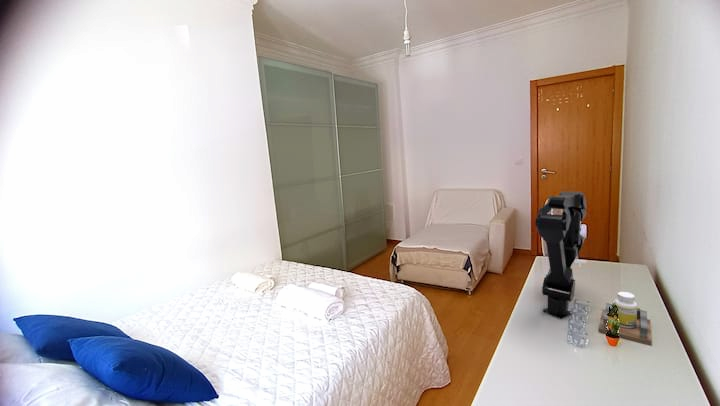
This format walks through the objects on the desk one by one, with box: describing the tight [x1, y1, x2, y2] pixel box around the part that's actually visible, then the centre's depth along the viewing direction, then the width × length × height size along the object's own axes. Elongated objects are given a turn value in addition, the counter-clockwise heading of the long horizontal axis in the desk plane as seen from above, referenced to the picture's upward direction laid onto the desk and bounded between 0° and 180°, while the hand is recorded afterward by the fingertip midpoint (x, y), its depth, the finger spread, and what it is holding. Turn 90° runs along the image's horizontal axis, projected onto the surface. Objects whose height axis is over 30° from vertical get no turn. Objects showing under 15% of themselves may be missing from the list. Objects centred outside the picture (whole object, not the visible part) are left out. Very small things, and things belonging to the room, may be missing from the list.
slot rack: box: [598, 302, 653, 346], centre depth 99 cm, size 14×12×4 cm
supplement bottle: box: [614, 291, 638, 328], centre depth 98 cm, size 5×5×10 cm
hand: (569, 266), depth 119 cm, fingers open, 9 cm apart
